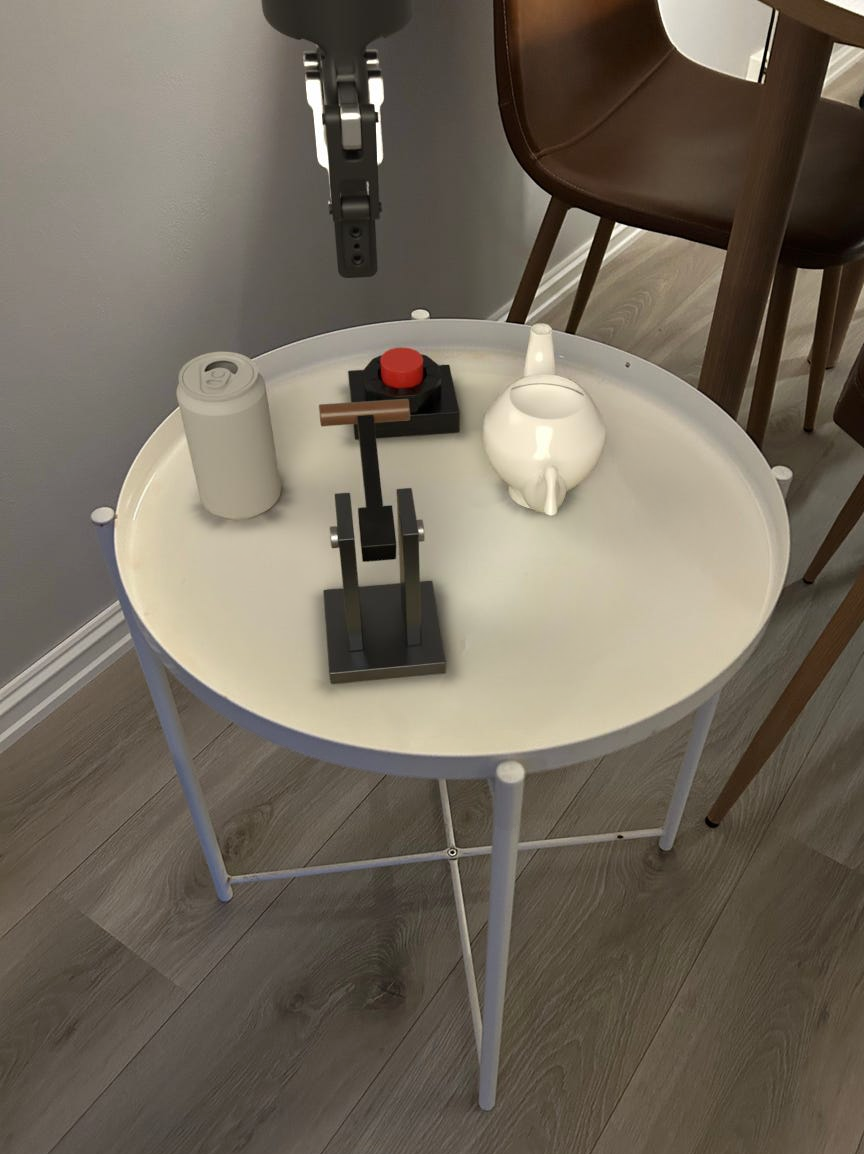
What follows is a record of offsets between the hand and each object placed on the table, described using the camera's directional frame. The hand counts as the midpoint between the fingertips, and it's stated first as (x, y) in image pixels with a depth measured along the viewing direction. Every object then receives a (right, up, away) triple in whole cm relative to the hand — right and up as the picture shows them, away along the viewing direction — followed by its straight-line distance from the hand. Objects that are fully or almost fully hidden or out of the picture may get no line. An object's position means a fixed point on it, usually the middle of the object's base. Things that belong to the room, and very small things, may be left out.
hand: (353, 242), depth 63 cm
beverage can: (-12, -12, +23) cm, 29 cm away
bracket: (0, -23, +14) cm, 27 cm away
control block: (+1, -3, +31) cm, 31 cm away
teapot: (+12, -11, +25) cm, 30 cm away
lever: (0, -13, +9) cm, 16 cm away
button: (+1, -1, +29) cm, 28 cm away
